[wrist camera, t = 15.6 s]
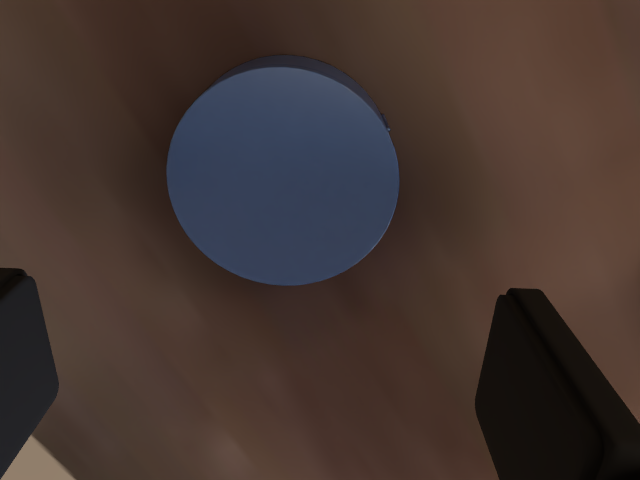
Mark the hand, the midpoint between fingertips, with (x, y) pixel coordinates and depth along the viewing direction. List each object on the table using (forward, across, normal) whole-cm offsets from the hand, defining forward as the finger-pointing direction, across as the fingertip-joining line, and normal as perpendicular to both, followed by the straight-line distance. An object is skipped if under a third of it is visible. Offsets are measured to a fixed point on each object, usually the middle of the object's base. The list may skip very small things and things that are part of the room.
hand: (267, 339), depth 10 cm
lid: (+6, 0, -1) cm, 6 cm away
